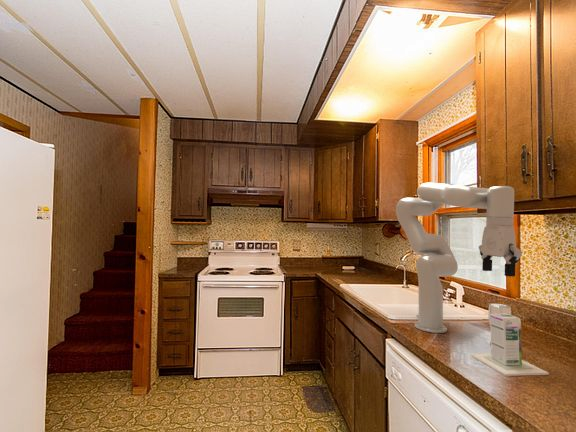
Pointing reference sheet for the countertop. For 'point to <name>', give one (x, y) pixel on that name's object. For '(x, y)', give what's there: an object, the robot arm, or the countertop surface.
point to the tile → (509, 366)
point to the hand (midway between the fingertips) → (497, 273)
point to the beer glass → (498, 310)
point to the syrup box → (506, 339)
